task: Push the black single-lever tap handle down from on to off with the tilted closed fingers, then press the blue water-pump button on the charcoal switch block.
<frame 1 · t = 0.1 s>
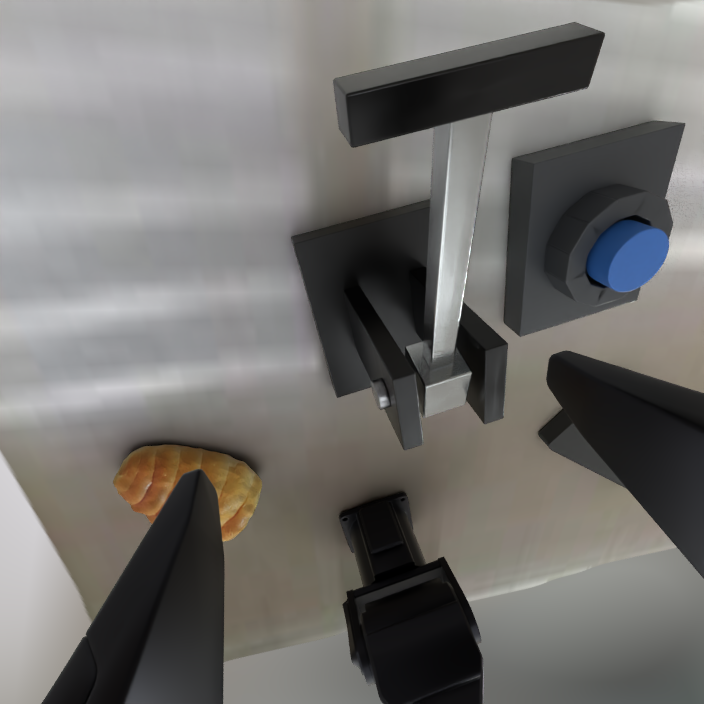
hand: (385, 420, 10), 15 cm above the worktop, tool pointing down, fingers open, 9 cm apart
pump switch: (570, 232, 26), on the worktop
tap lever: (444, 288, 14), point 10 cm above the worktop, hinge at 16.0°
tap bracket: (383, 301, 25), on the worktop
pastry: (198, 476, 29), on the worktop
pump button: (625, 256, 22), point 4 cm above the worktop, slide at 0.1 cm
smart home device: (615, 435, 41), on the worktop
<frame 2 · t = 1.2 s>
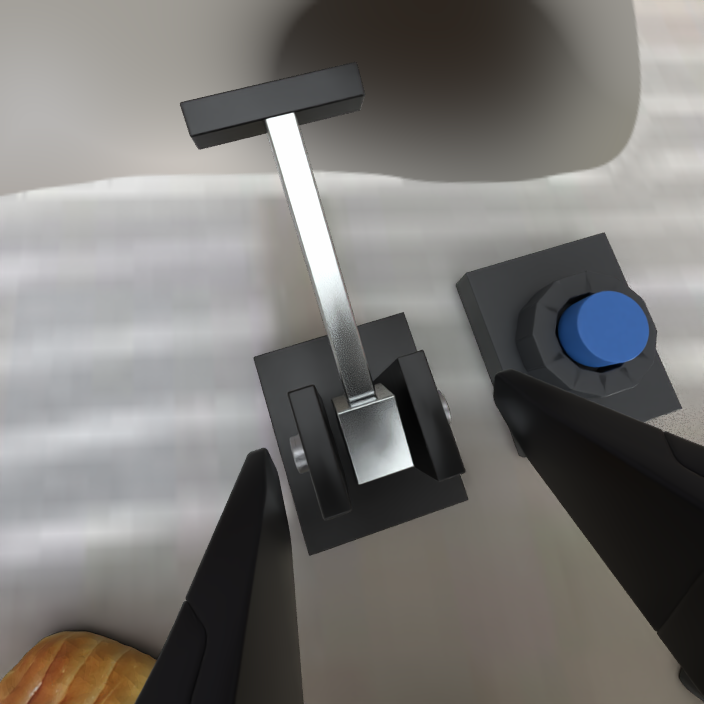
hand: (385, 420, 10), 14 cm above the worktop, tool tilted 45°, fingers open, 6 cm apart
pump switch: (553, 346, 24), on the worktop
tap lever: (329, 288, 14), point 10 cm above the worktop, hinge at 16.0°
tap bracket: (357, 426, 23), on the worktop
pump button: (601, 329, 20), point 4 cm above the worktop, slide at 0.1 cm
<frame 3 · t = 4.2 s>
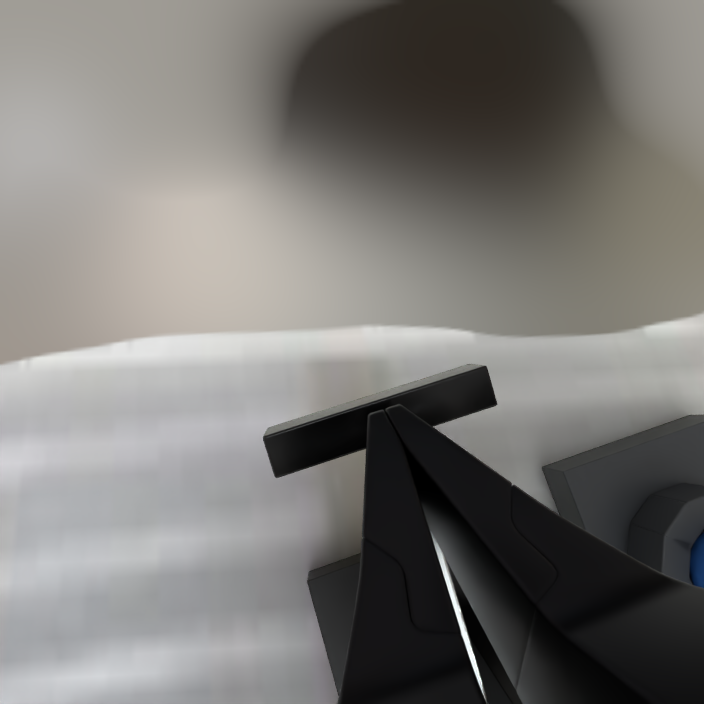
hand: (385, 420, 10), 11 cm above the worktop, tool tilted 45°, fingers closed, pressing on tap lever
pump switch: (660, 544, 20), on the worktop
tap lever: (446, 639, 11), point 9 cm above the worktop, hinge at 11.5°, touching gripper
tap bracket: (431, 657, 19), on the worktop
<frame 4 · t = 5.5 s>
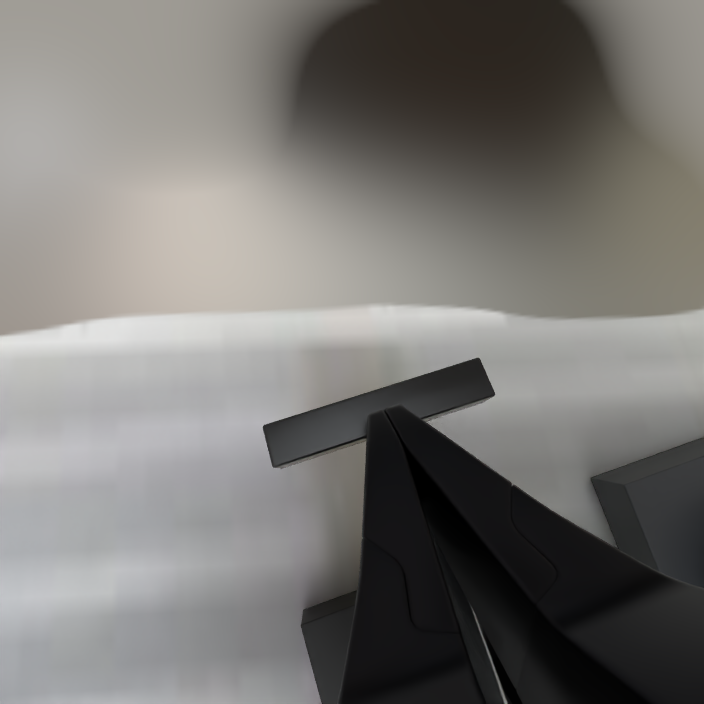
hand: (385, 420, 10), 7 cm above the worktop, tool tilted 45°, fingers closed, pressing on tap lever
tap lever: (473, 688, 9), point 7 cm above the worktop, hinge at -8.1°, touching gripper
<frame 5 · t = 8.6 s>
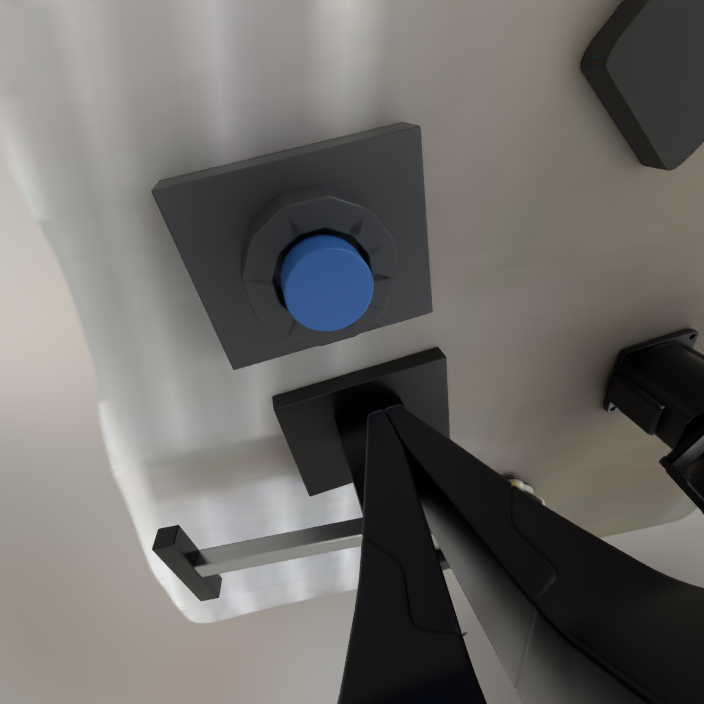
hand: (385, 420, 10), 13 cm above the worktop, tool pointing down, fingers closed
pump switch: (309, 247, 20), on the worktop
tap lever: (306, 542, 21), point 7 cm above the worktop, hinge at -8.1°
tap bracket: (367, 420, 28), on the worktop
pump button: (326, 283, 16), point 4 cm above the worktop, slide at 0.1 cm
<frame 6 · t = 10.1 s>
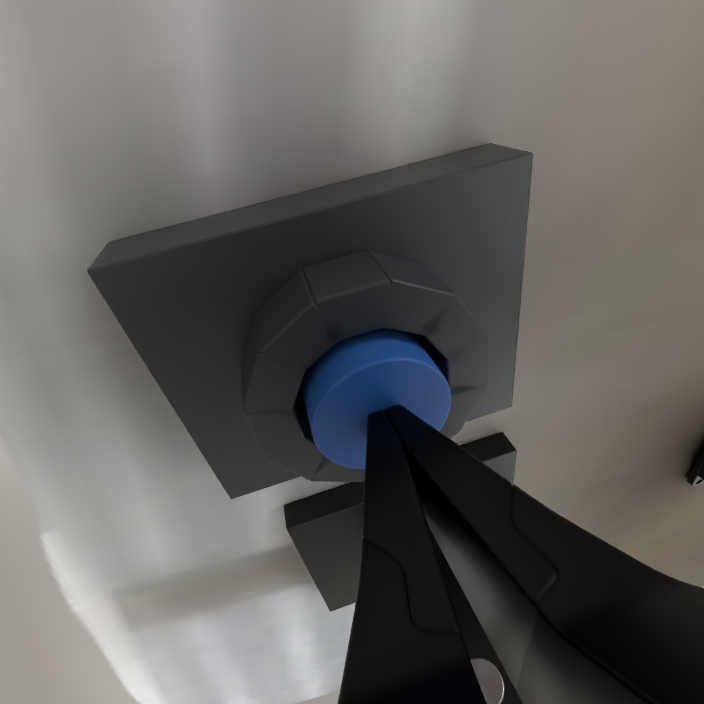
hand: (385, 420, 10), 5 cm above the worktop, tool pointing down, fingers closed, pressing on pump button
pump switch: (340, 324, 14), on the worktop
tap bracket: (405, 518, 21), on the worktop
pump button: (374, 397, 10), point 4 cm above the worktop, slide at -0.5 cm, touching gripper
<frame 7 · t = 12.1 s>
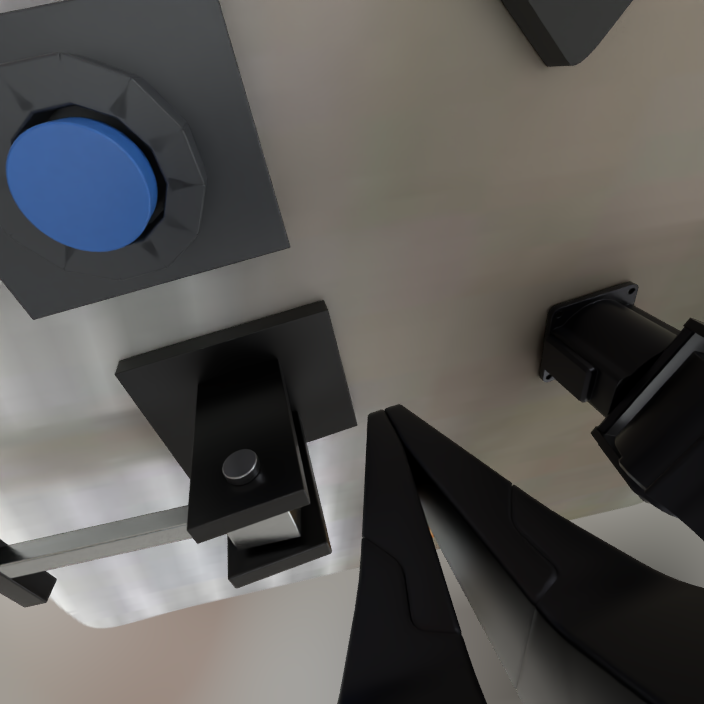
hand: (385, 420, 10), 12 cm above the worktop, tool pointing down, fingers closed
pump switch: (119, 162, 16), on the worktop
tap lever: (139, 532, 17), point 7 cm above the worktop, hinge at -8.1°
tap bracket: (252, 390, 24), on the worktop
pump button: (90, 186, 12), point 4 cm above the worktop, slide at 0.1 cm
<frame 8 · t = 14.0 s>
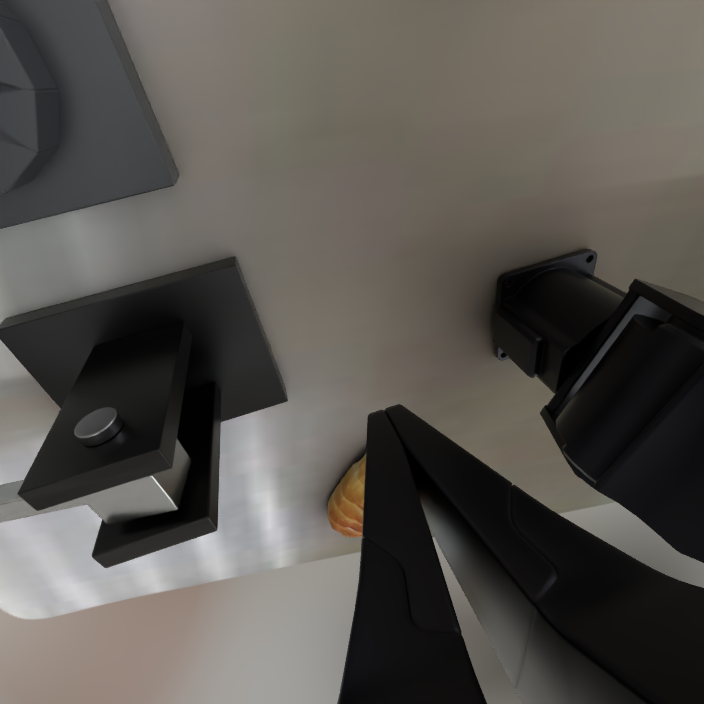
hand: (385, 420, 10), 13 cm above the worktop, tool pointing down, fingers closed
tap lever: (0, 503, 15), point 7 cm above the worktop, hinge at -8.1°
tap bracket: (166, 358, 22), on the worktop
pastry: (378, 474, 32), on the worktop
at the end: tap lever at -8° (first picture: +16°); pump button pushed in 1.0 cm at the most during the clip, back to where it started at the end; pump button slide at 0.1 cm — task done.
